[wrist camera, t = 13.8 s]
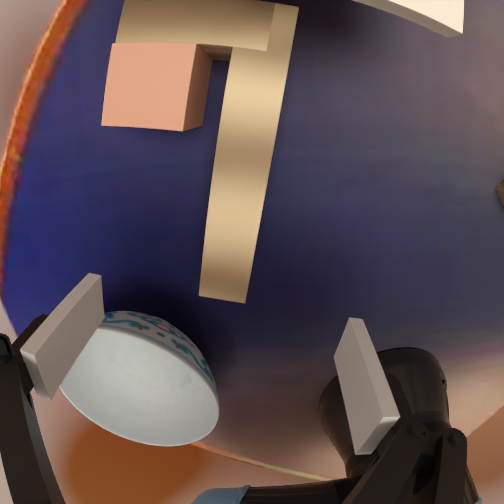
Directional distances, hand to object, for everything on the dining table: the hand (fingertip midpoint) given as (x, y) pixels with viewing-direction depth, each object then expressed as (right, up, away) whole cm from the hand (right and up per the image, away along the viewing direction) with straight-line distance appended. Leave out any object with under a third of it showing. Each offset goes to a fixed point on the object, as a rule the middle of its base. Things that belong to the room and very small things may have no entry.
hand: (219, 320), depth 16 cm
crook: (-2, +12, +6) cm, 13 cm away
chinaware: (-8, -5, +14) cm, 17 cm away
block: (-4, +15, +4) cm, 16 cm away
